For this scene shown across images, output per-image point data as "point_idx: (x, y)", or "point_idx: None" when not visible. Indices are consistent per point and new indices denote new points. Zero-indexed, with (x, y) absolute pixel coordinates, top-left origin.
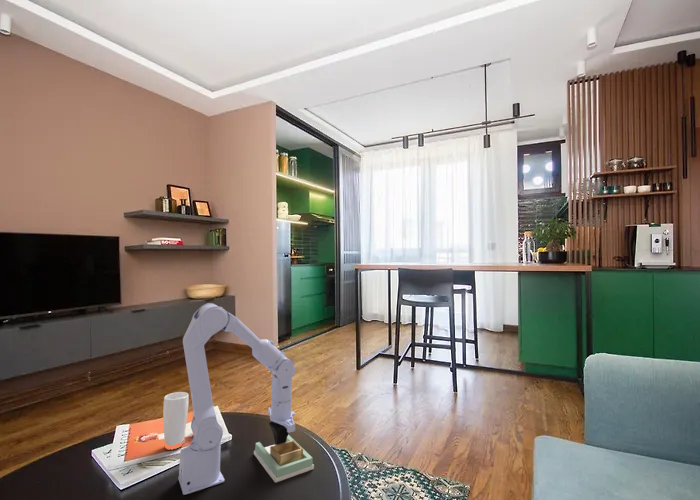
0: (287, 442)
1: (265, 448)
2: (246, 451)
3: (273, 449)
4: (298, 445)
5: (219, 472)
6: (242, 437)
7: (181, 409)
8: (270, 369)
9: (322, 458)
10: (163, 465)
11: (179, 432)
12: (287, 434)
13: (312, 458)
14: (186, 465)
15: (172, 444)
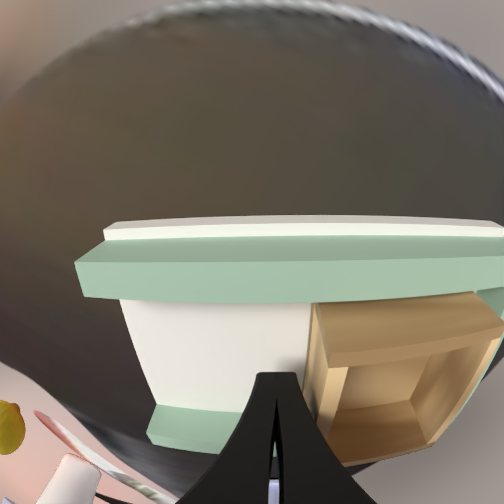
0: (336, 404)
1: (162, 386)
2: (136, 411)
3: (349, 465)
4: (455, 342)
5: (275, 493)
6: (34, 369)
7: None
8: None
9: (445, 104)
10: (157, 493)
11: (85, 496)
12: (343, 471)
13: None
14: None
15: (98, 482)
